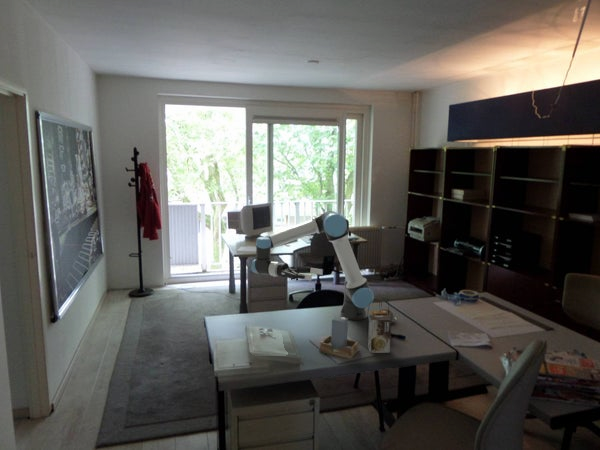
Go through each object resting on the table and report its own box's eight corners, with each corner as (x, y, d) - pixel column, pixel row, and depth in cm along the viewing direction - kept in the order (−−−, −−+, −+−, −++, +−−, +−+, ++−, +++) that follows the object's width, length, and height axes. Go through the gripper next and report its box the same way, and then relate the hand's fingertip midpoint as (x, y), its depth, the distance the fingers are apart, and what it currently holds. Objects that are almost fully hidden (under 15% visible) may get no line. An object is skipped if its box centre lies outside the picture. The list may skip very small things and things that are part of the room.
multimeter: (373, 344, 204) (375, 304, 202) (364, 336, 214) (366, 298, 211) (400, 342, 208) (402, 302, 206) (390, 334, 218) (392, 297, 215)
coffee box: (386, 347, 201) (388, 314, 199) (389, 353, 194) (391, 319, 192) (367, 347, 200) (369, 314, 198) (370, 353, 194) (372, 319, 192)
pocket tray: (327, 343, 203) (328, 335, 203) (358, 350, 197) (358, 341, 196) (319, 351, 194) (319, 342, 194) (351, 358, 187) (351, 349, 187)
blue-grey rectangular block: (330, 343, 200) (332, 313, 198) (350, 348, 195) (352, 317, 193) (326, 347, 195) (328, 317, 193) (347, 352, 191) (348, 320, 189)
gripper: (290, 271, 228) (326, 276, 219) (266, 281, 206) (306, 288, 197) (290, 258, 227) (326, 262, 218) (267, 266, 205) (306, 272, 196)
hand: (317, 274), depth 208 cm, fingers open, 13 cm apart
